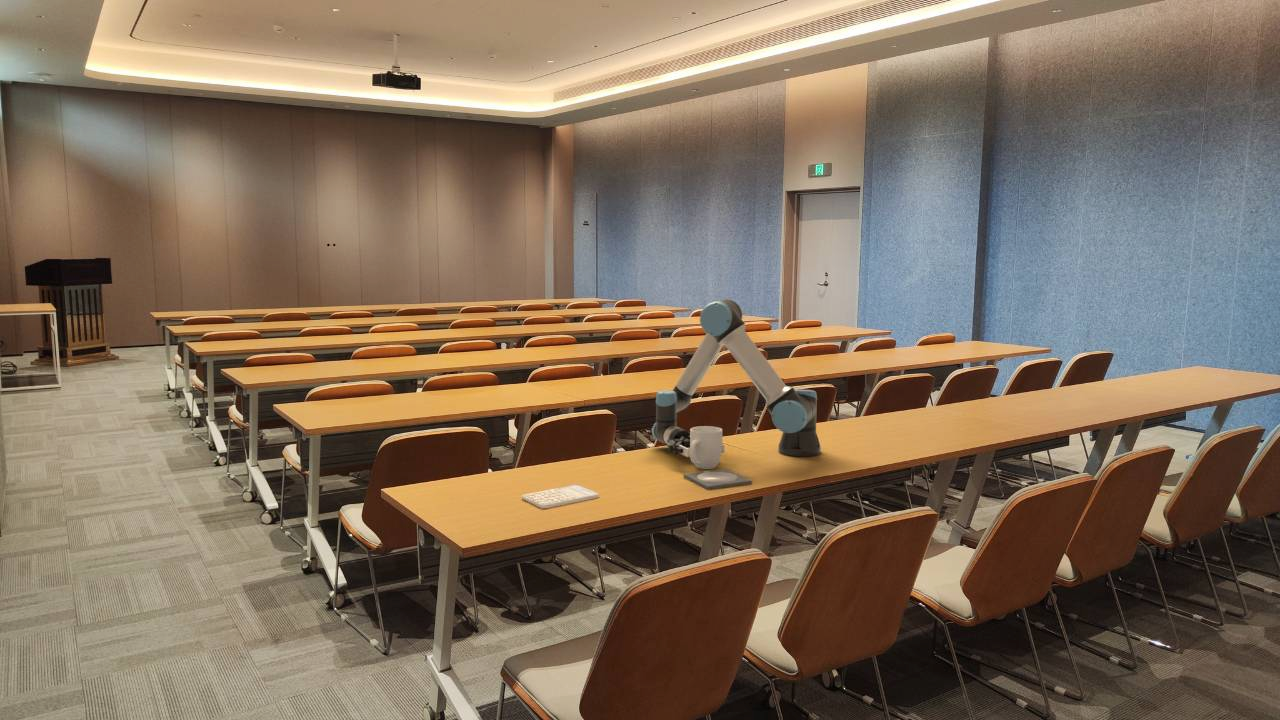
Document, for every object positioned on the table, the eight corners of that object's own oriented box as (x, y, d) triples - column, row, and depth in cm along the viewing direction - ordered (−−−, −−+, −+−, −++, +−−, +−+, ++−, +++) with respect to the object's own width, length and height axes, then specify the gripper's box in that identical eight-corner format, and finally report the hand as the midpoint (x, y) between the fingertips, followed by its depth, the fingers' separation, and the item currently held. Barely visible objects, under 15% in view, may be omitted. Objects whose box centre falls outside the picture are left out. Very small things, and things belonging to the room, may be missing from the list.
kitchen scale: (726, 471, 287) (726, 468, 287) (751, 483, 273) (751, 479, 273) (683, 477, 281) (683, 473, 281) (707, 489, 266) (707, 485, 266)
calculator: (520, 500, 258) (520, 494, 258) (576, 489, 270) (576, 483, 269) (542, 511, 247) (542, 504, 247) (600, 498, 259) (600, 492, 259)
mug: (705, 475, 283) (705, 436, 281) (677, 470, 289) (677, 432, 287) (728, 465, 295) (728, 428, 293) (700, 461, 301) (701, 424, 299)
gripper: (708, 445, 316) (737, 458, 296) (646, 452, 306) (673, 465, 286) (708, 425, 315) (738, 436, 295) (646, 431, 305) (673, 443, 285)
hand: (706, 451), depth 291 cm, fingers closed on mug, 13 cm apart
